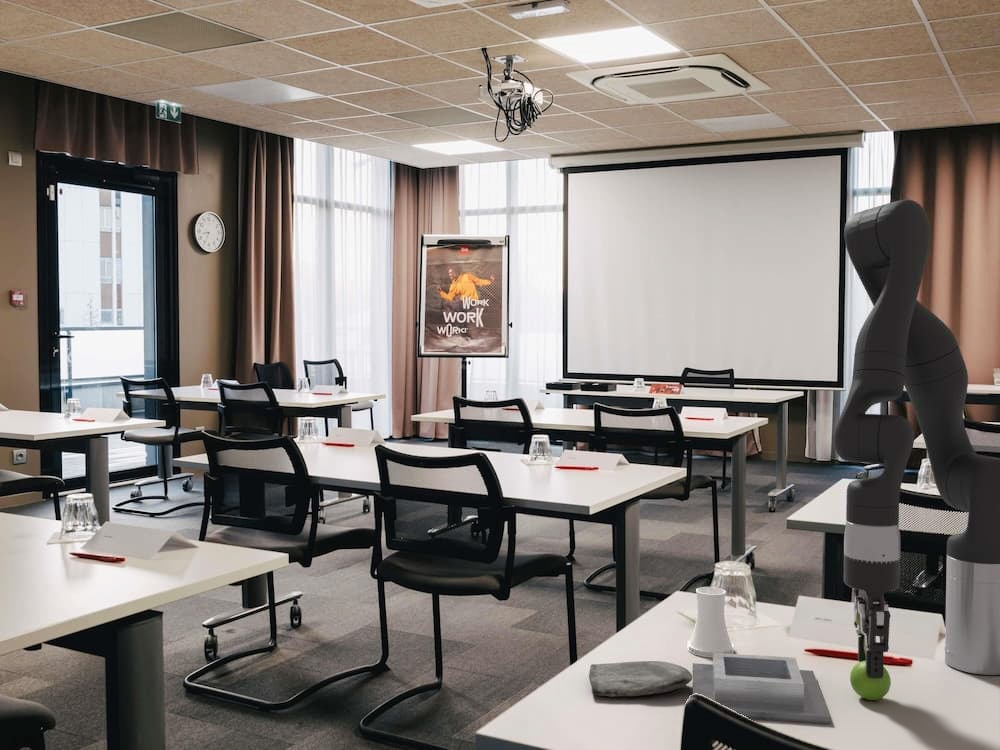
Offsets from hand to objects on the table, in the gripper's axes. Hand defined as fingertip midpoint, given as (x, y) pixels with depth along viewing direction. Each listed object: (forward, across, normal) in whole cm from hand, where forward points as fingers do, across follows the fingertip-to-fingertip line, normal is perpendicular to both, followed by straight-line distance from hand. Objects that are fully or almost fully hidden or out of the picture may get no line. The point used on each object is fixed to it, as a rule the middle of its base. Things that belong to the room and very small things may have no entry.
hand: (870, 669), depth 137 cm
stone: (+5, -2, +33) cm, 33 cm away
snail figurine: (+4, 0, 0) cm, 4 cm away
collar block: (+4, -2, +16) cm, 17 cm away
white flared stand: (+4, +17, +22) cm, 28 cm away
